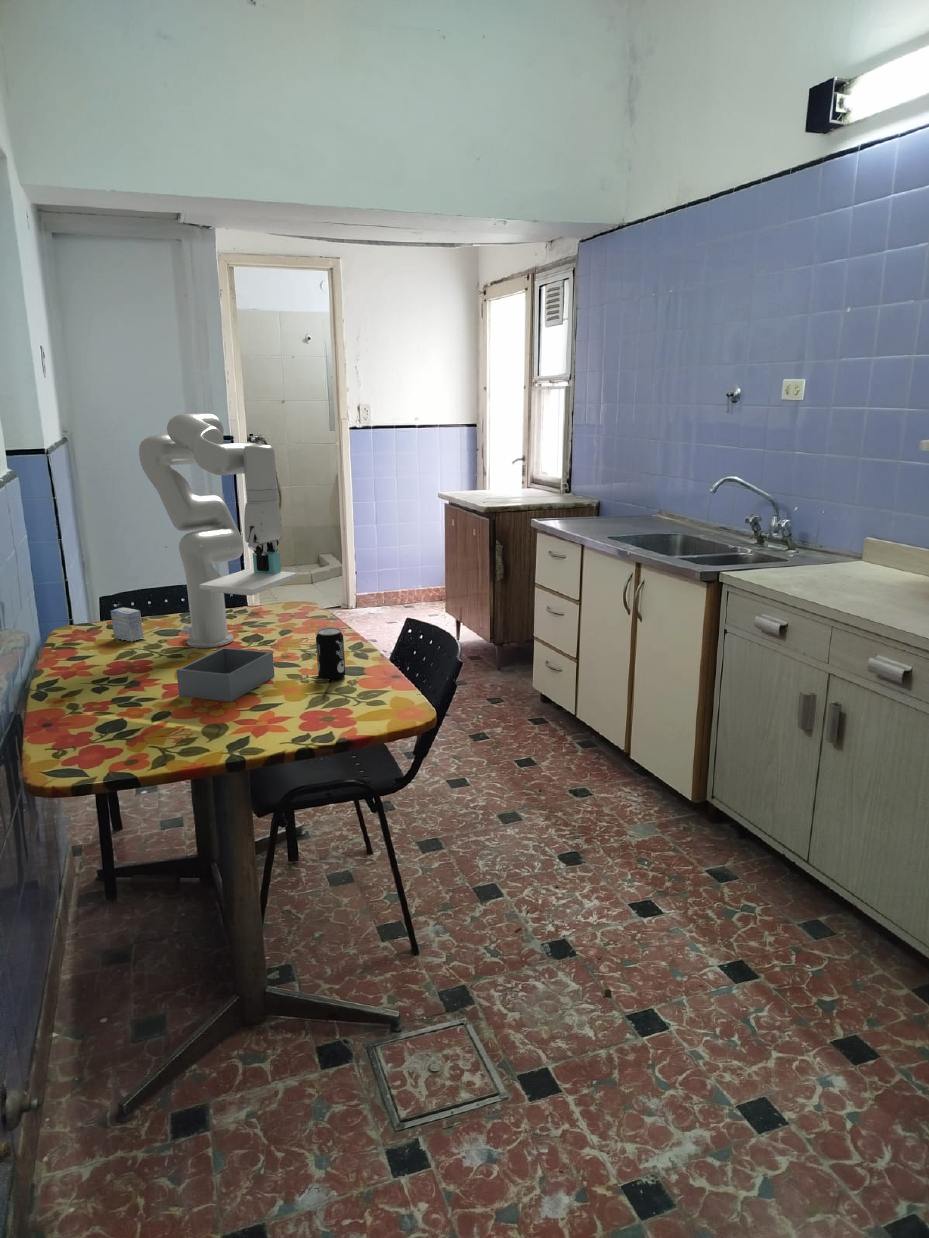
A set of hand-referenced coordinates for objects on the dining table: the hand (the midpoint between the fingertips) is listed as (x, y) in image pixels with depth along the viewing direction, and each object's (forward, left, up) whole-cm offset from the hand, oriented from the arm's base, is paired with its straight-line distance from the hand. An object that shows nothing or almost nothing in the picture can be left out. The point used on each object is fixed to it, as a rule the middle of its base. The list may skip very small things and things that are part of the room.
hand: (267, 568), depth 206 cm
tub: (0, -21, -25) cm, 32 cm away
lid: (0, -8, -3) cm, 8 cm away
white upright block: (-53, +7, -25) cm, 59 cm away
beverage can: (+20, -7, -25) cm, 33 cm away
